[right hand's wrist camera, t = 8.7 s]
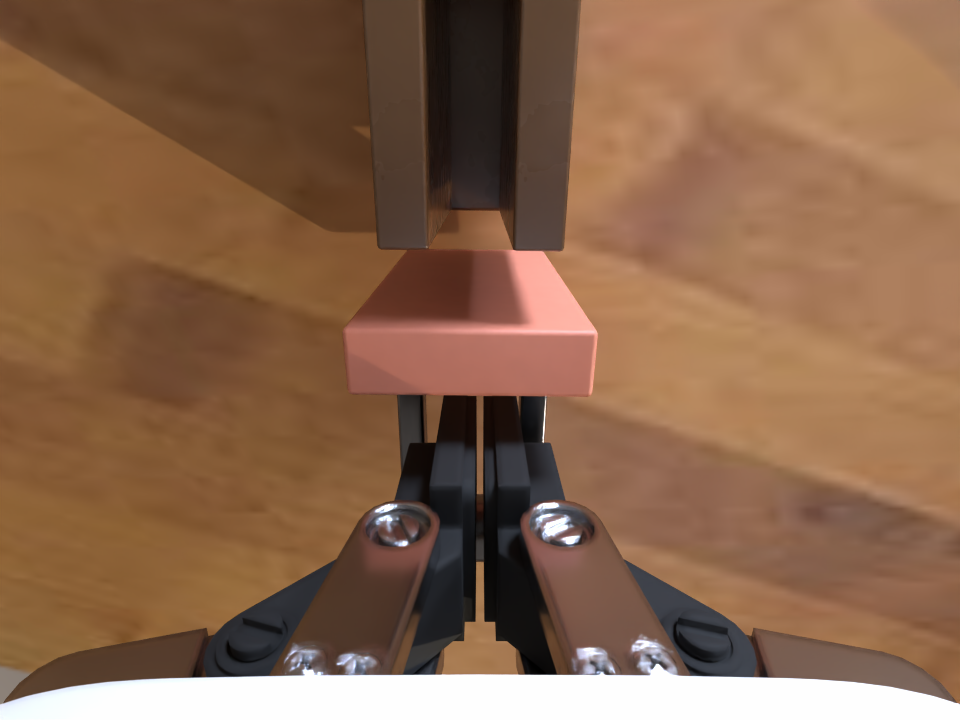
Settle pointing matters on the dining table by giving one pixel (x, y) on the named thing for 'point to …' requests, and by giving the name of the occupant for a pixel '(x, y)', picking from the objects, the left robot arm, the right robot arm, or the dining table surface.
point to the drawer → (471, 186)
